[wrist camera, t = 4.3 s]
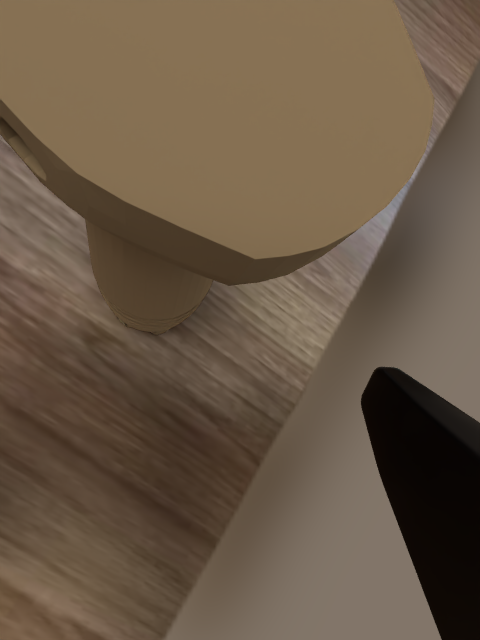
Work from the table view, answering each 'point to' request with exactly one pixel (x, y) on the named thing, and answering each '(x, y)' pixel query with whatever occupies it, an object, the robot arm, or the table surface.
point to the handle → (211, 133)
